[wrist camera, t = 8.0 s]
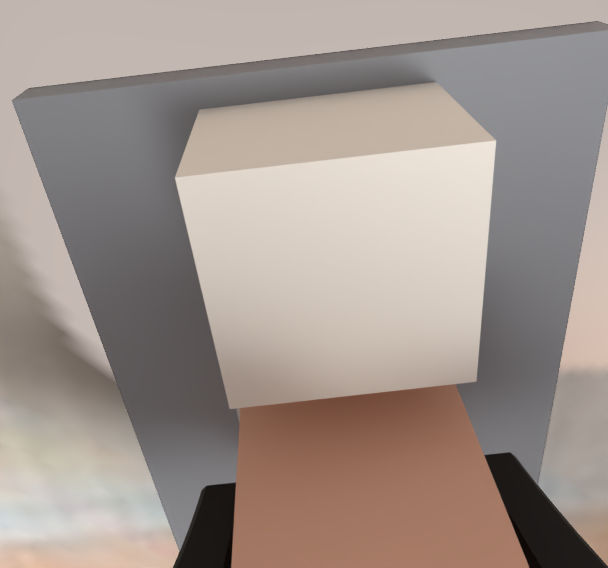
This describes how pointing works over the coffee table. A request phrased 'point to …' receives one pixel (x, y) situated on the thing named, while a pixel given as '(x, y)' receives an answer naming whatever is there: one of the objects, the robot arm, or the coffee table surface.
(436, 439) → the terracotta block
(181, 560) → the robot arm
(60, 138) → the block set board
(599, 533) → the coffee table surface
